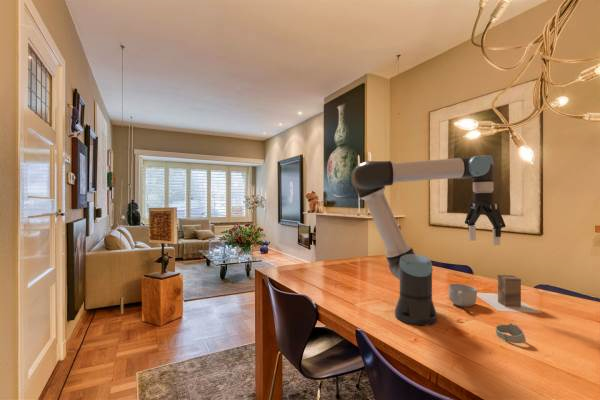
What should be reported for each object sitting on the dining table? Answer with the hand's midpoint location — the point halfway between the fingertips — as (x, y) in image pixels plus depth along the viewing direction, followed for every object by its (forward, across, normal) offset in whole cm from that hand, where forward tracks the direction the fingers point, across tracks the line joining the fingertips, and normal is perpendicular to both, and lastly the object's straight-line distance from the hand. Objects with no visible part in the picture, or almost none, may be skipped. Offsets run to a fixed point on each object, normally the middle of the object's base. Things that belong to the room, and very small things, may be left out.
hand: (483, 242), depth 128 cm
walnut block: (+27, 0, -11) cm, 29 cm away
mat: (+28, +4, -12) cm, 30 cm away
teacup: (+28, +3, +8) cm, 29 cm away
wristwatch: (+28, -28, +14) cm, 41 cm away
